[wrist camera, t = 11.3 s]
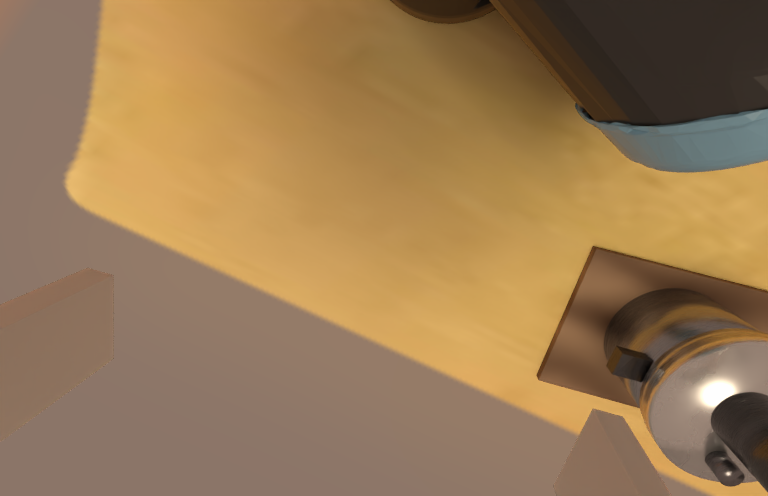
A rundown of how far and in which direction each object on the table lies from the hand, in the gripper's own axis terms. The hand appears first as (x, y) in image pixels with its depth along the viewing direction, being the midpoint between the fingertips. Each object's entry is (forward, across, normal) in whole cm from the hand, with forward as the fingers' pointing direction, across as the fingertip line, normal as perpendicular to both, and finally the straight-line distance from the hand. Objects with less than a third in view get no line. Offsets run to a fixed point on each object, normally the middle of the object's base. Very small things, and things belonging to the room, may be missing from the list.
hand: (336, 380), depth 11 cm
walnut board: (+29, +28, -8) cm, 41 cm away
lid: (+19, +28, -7) cm, 34 cm away
